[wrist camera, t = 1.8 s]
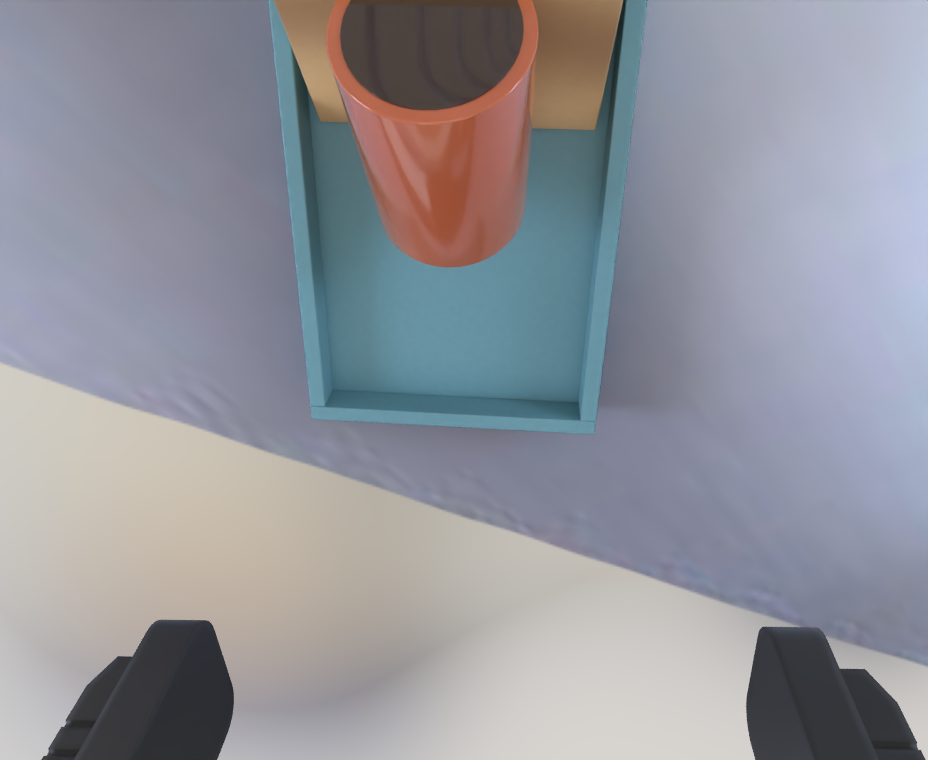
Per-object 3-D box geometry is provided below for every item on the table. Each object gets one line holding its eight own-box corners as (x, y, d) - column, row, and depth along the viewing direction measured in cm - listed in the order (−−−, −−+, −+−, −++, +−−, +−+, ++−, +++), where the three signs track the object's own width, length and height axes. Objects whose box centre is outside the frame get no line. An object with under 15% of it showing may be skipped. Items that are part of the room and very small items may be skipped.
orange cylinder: (524, 235, 35) (521, 347, 25) (388, 230, 35) (331, 338, 25) (540, -50, 29) (545, -56, 19) (377, -52, 29) (299, -60, 19)
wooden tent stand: (594, 126, 33) (615, 183, 25) (324, 118, 33) (257, 171, 25) (619, -136, 28) (656, -174, 20) (305, -139, 29) (215, -176, 21)
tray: (591, 407, 40) (594, 434, 38) (323, 394, 41) (311, 419, 39) (659, -185, 27) (671, -197, 25) (269, -186, 28) (246, -199, 26)
